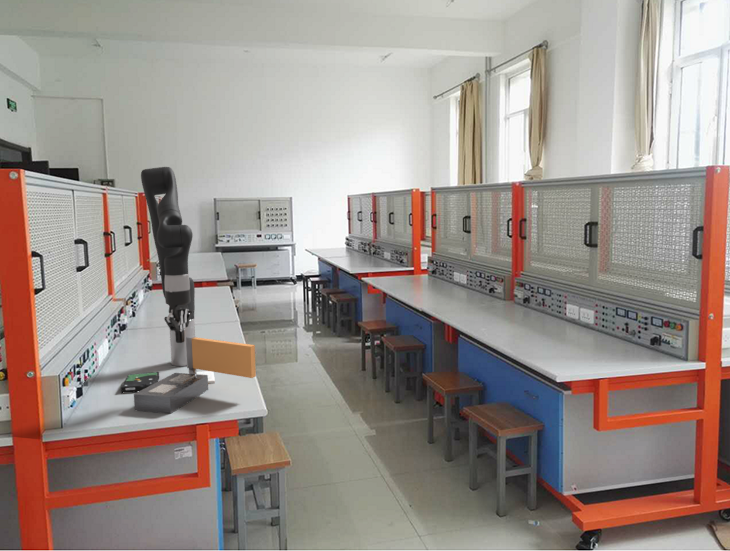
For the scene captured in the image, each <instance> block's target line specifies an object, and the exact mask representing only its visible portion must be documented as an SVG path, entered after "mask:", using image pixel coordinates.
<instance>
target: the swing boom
mask: <svg viewBox="0 0 730 551" xmlns="http://www.w3.org/2000/svg"><path fill="white" fill-rule="evenodd" d="M186 350H187V369H189V368H190V369H192V368H194V369H196V370H200V371H212V372H214V373H217V374H218V373H220V374H225V375H231V376H238V377H242V378H249V379H253V378H255V377H256V376H257V371H256V369H257V368H256V346H255V344H249V343H241V342H233V341H224V340H221V339H220V340H219V339H218V340H217V339H210V338H203V337H197V336H196V337H186Z"/></svg>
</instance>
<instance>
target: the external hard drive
mask: <svg viewBox="0 0 730 551" xmlns="http://www.w3.org/2000/svg"><path fill="white" fill-rule="evenodd" d="M196 373H197V374H200V375H208V383H212V384H215V383H216V381H215V372H212V371H206V370H200V371H196Z"/></svg>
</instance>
